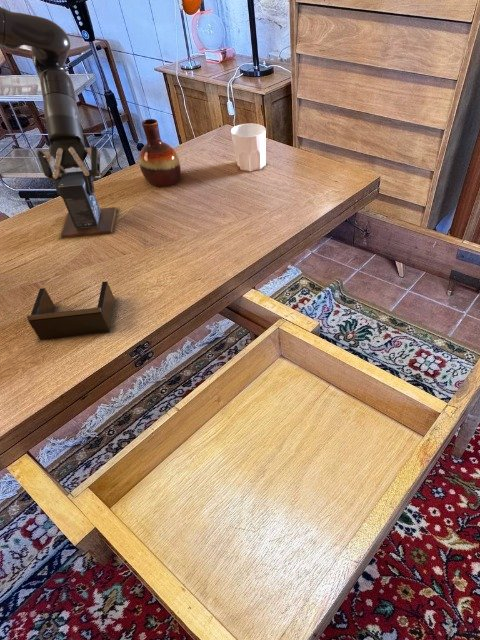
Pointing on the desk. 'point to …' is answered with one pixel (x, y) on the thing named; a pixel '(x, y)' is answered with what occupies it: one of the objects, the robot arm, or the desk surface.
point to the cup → (249, 146)
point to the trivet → (103, 227)
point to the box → (79, 200)
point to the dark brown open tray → (71, 317)
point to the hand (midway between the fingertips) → (76, 195)
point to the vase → (158, 158)
